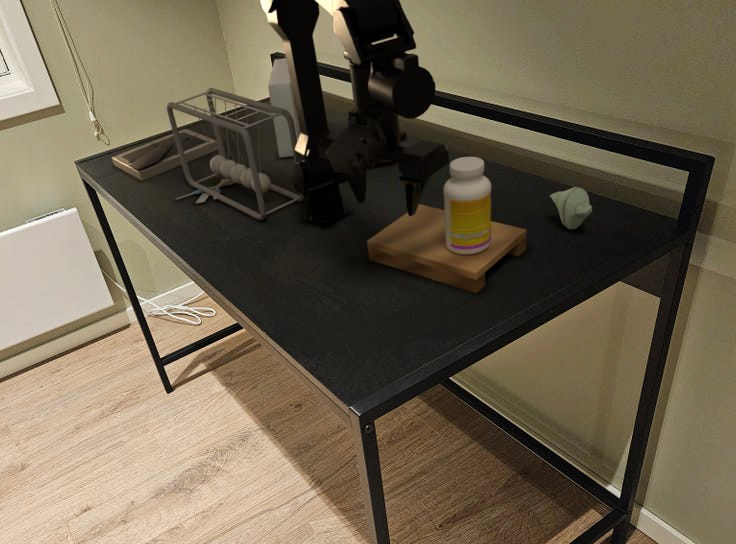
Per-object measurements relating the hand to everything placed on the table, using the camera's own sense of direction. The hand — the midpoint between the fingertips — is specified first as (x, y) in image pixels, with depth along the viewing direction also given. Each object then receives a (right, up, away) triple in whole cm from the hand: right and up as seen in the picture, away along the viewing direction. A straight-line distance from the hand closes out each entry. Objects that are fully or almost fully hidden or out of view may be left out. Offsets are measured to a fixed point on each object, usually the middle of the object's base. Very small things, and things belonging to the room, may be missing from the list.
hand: (386, 208), depth 95 cm
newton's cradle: (-25, +12, +40) cm, 49 cm away
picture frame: (-47, +27, +64) cm, 84 cm away
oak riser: (+10, -5, +9) cm, 15 cm away
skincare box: (-16, +30, +60) cm, 69 cm away
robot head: (+31, -1, +10) cm, 32 cm away
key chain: (-32, +13, +42) cm, 54 cm away
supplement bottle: (+13, -5, +4) cm, 14 cm away
